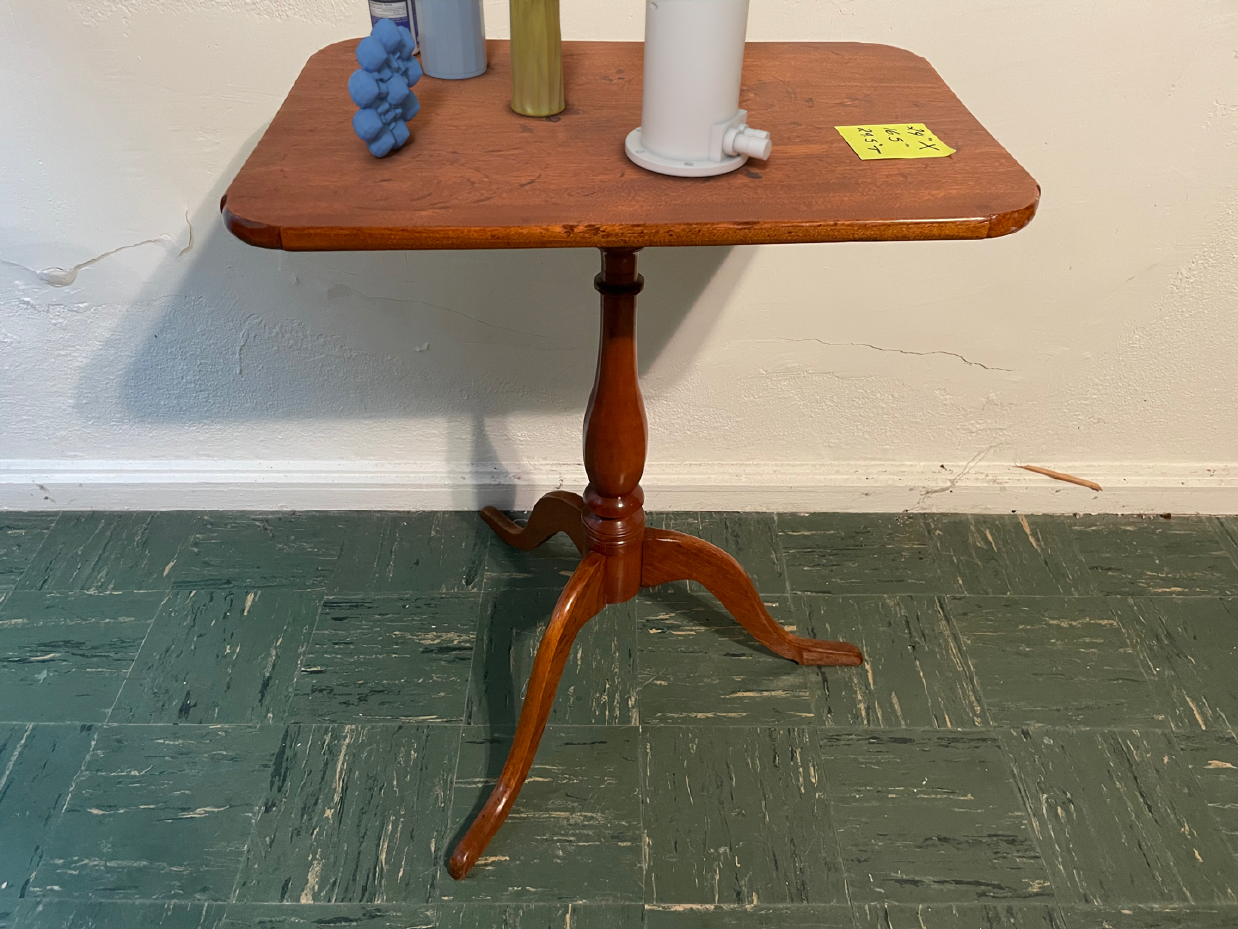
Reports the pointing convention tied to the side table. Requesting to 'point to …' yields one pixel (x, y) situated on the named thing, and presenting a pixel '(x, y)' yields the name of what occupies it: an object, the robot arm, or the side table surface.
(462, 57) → the cup
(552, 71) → the vase
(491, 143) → the side table surface
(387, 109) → the grapes
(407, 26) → the pill bottle
